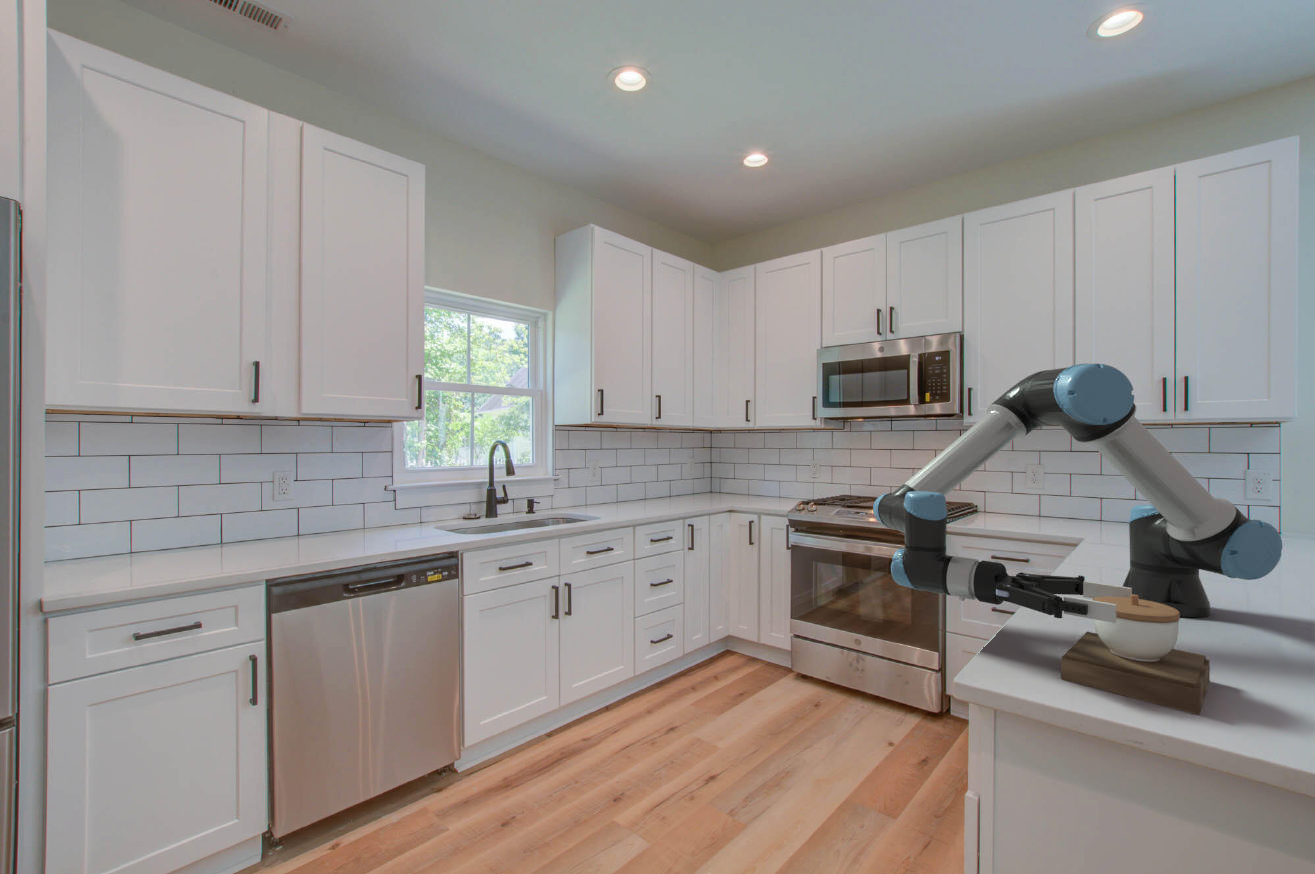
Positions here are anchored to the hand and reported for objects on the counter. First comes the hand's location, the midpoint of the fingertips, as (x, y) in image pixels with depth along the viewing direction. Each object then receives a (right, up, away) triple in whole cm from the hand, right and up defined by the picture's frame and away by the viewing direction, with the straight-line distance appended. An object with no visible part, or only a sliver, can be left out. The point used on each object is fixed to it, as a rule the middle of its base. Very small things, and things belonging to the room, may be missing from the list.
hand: (1124, 604), depth 92 cm
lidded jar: (+1, -8, -1) cm, 8 cm away
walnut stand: (+1, -12, -1) cm, 12 cm away
